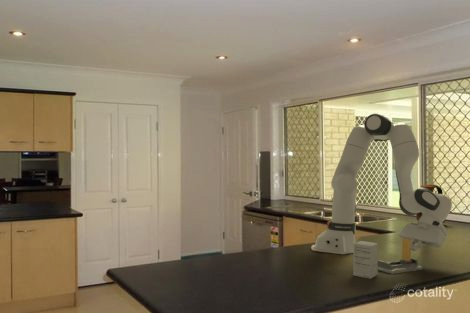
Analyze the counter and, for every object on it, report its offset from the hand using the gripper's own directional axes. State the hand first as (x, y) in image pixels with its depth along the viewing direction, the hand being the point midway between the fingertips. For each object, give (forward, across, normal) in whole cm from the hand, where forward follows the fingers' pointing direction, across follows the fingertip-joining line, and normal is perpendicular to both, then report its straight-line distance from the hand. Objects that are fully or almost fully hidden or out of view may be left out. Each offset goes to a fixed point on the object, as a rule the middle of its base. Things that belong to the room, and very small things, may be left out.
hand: (412, 249), depth 184 cm
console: (+11, 0, -1) cm, 11 cm away
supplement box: (+26, +2, -15) cm, 30 cm away
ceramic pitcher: (-82, -85, +92) cm, 149 cm away
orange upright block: (+7, 0, +2) cm, 7 cm away
